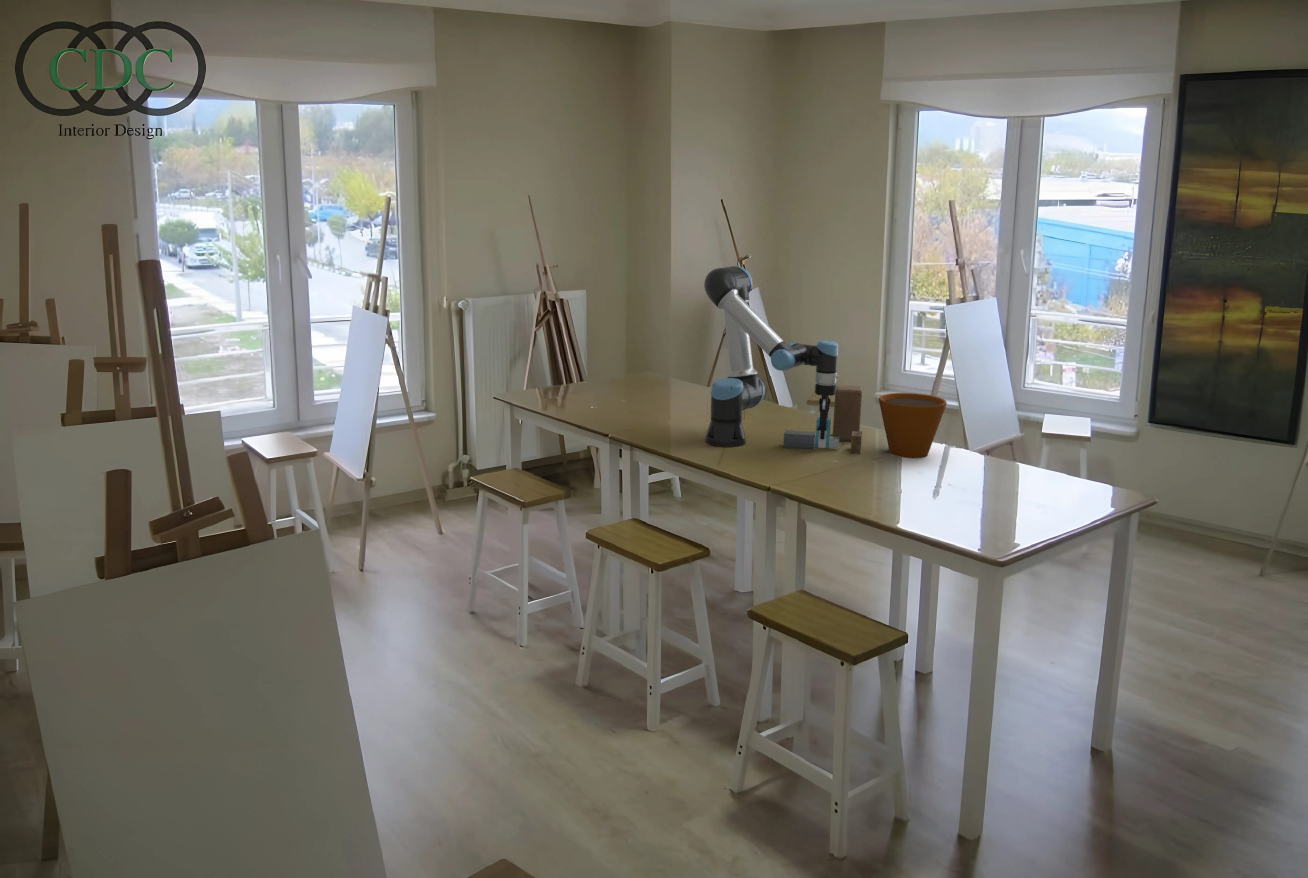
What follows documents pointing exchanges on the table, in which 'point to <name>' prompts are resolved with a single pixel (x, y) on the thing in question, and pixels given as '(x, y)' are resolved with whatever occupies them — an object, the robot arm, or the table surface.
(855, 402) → the wooden block
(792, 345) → the robot arm
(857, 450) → the socket
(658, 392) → the table surface
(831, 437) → the teal square post
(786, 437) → the grey rectangular block
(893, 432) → the flower pot
